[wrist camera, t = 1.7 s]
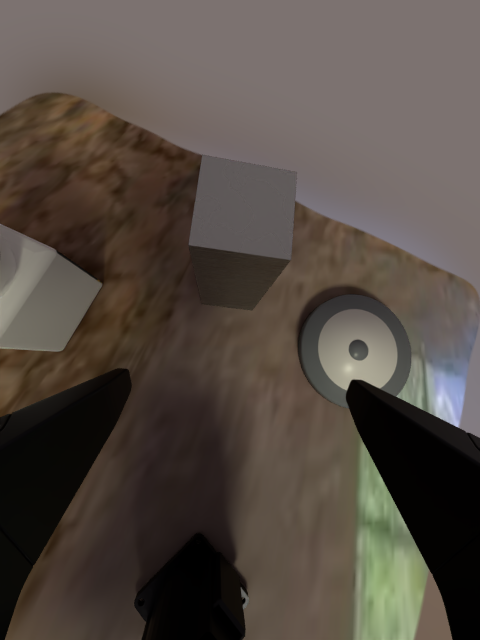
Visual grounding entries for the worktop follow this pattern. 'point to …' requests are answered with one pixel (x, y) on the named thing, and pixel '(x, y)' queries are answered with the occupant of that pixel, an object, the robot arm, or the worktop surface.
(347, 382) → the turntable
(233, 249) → the block
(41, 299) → the medicine bottle
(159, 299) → the worktop surface
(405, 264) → the worktop surface
